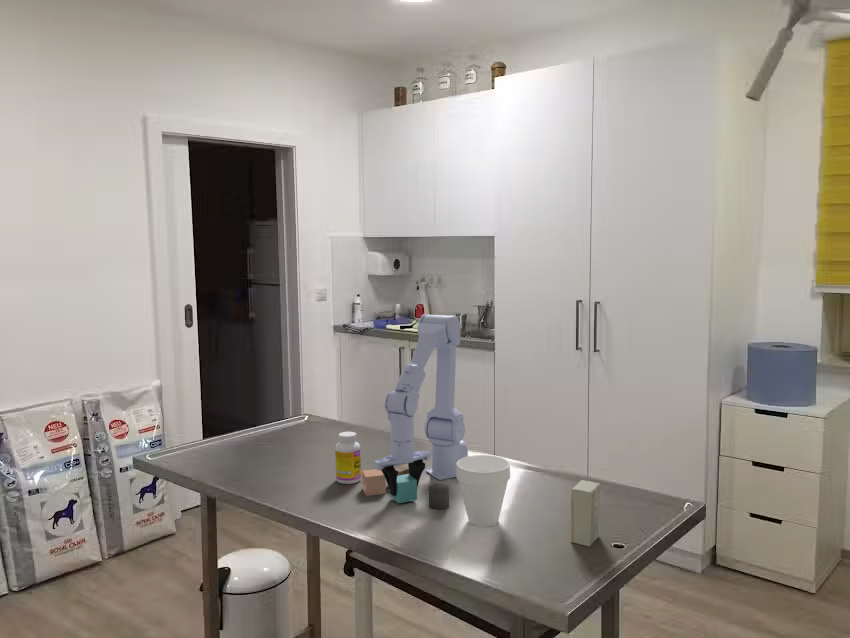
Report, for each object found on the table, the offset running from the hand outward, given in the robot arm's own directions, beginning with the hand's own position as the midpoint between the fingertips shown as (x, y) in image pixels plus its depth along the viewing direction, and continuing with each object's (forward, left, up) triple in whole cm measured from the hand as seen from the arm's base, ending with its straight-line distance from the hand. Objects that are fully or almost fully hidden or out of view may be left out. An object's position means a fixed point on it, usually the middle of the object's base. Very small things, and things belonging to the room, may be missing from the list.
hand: (403, 492), depth 179 cm
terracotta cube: (+4, -9, -2) cm, 11 cm away
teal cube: (0, 0, -1) cm, 1 cm away
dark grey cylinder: (-6, +8, -2) cm, 10 cm away
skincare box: (-25, +39, -2) cm, 46 cm away
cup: (-11, +20, -2) cm, 23 cm away
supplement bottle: (+7, -20, -2) cm, 21 cm away
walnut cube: (-4, -10, -2) cm, 11 cm away
